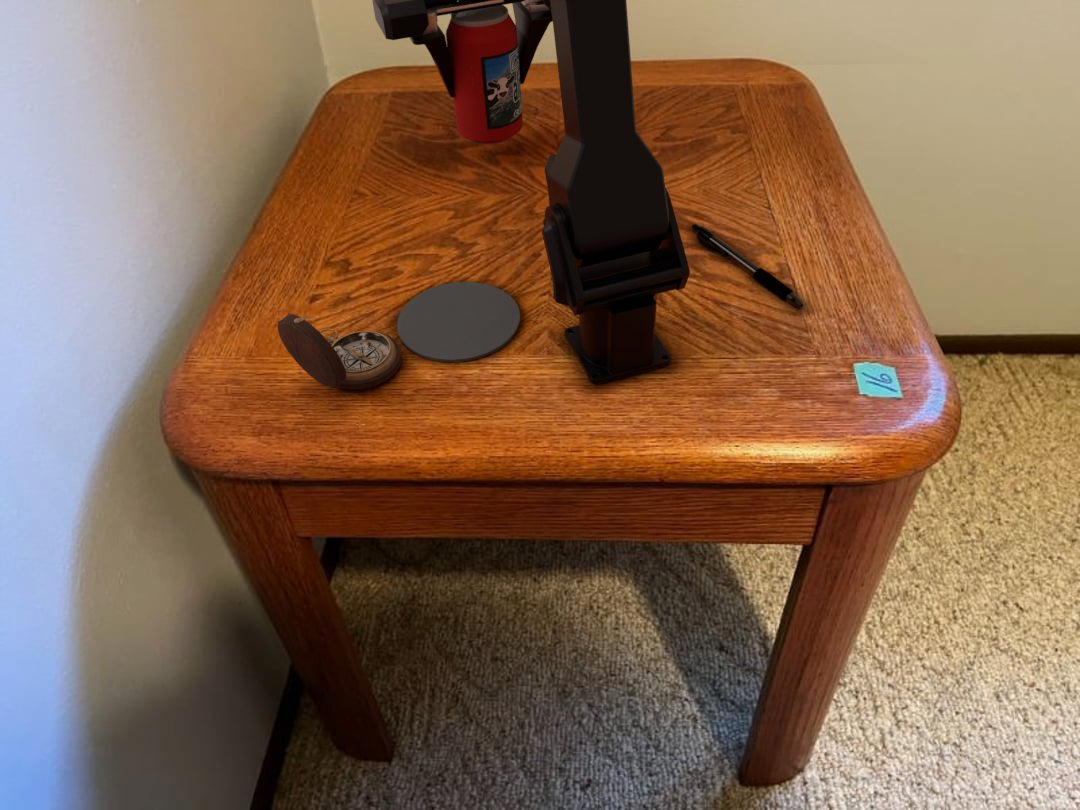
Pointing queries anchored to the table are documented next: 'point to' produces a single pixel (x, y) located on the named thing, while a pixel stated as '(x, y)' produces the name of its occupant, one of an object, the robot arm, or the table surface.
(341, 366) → the compass
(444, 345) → the felt coaster
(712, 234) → the pen
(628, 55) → the robot arm
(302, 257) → the table surface
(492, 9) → the beverage can
